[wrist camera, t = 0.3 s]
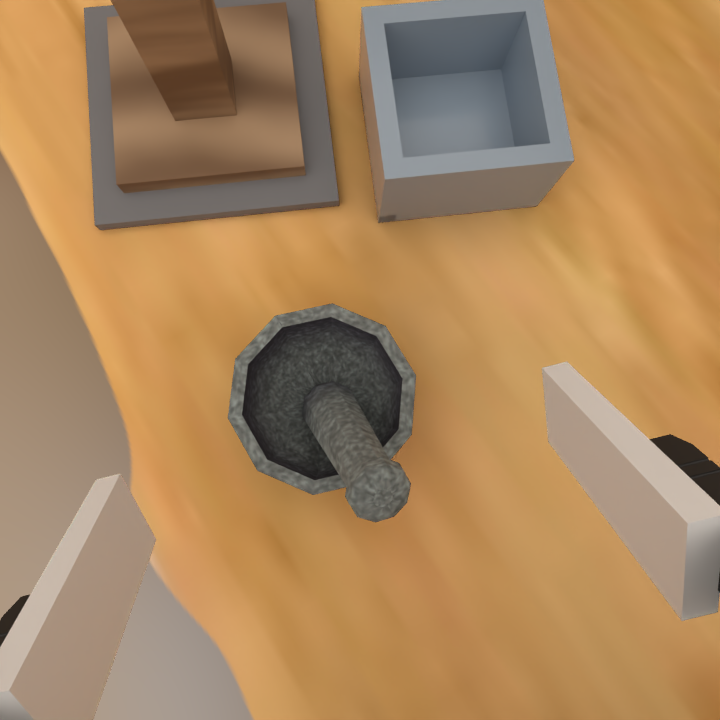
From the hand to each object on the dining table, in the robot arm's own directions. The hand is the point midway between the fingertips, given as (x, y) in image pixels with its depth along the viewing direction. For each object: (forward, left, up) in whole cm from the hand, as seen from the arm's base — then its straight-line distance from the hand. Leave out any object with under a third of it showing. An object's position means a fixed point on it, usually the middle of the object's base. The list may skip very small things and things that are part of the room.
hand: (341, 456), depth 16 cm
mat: (+24, +6, -17) cm, 30 cm away
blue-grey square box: (+20, -10, -17) cm, 28 cm away
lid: (+24, +6, -17) cm, 30 cm away
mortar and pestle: (+2, 0, -18) cm, 18 cm away
